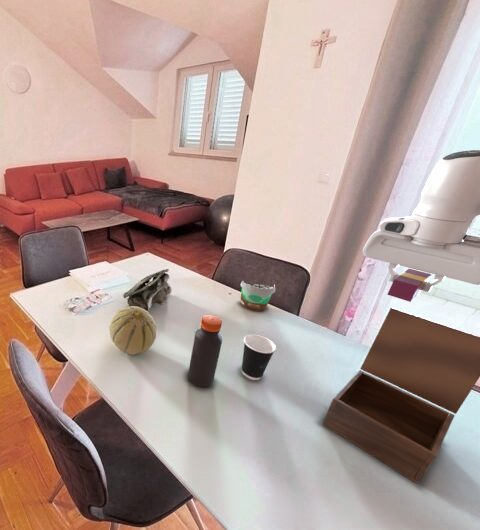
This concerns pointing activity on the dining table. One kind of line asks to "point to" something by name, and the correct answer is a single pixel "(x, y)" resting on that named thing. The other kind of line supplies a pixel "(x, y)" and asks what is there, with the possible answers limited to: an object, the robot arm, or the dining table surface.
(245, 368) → the dixie cup
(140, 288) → the hollow geode rock
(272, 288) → the food container
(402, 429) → the chest
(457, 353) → the lid
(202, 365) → the bottle
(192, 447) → the dining table surface
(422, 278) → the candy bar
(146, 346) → the cantaloupe
